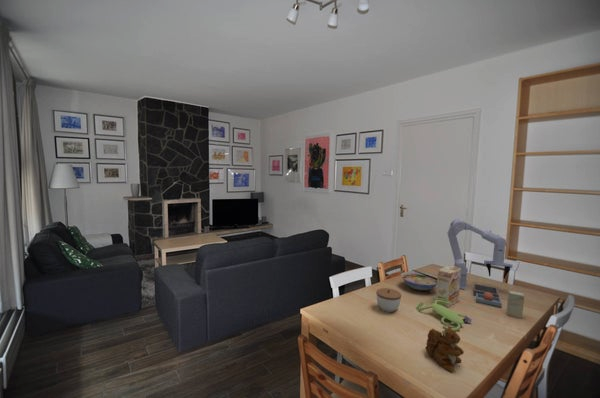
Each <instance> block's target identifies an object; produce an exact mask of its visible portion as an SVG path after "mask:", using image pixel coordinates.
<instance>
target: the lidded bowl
mask: <svg viewBox="0 0 600 398" xmlns="http://www.w3.org/2000/svg"><path fill="white" fill-rule="evenodd" d="M401 298H402V294H401V292H400V291H398V290H395V289H393V288H388V287H382V288H378V289H377V290H376V302H377V305H378V307H379V308H380V309H381V310H382V311H383V312H387V313H393V312H395V311H396V310H398V308H399V306H400V304H401V301H402V300H401Z"/></svg>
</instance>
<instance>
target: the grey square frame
mask: <svg viewBox="0 0 600 398" xmlns="http://www.w3.org/2000/svg"><path fill="white" fill-rule="evenodd" d="M472 286H473V288H472V291H473V292H472V295H473V297H476V293H479V294H484V293H486V292H489V293H491V294H492V295H493V296H494V297H499V298H500V294H499V291H498V290H499V289H498V288H497V287H495V286H494V287H493V286H488V285H484V284H477V283H473V285H472Z"/></svg>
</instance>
